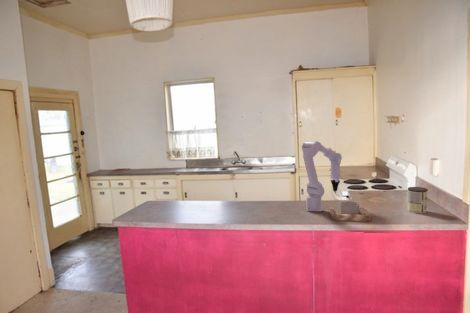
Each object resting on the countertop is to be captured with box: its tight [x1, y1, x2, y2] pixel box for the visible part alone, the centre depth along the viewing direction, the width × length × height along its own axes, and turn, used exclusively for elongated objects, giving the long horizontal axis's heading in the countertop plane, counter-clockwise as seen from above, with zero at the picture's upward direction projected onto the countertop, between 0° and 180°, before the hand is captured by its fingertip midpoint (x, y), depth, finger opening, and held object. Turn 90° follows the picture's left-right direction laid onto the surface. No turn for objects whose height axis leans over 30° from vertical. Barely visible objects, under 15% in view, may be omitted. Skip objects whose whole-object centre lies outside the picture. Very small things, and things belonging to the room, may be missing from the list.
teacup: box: [339, 200, 360, 215], centre depth 185 cm, size 14×11×8 cm
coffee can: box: [407, 186, 428, 215], centre depth 190 cm, size 10×10×14 cm
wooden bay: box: [329, 206, 372, 222], centre depth 184 cm, size 20×17×3 cm
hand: (335, 190), depth 210 cm, fingers closed
